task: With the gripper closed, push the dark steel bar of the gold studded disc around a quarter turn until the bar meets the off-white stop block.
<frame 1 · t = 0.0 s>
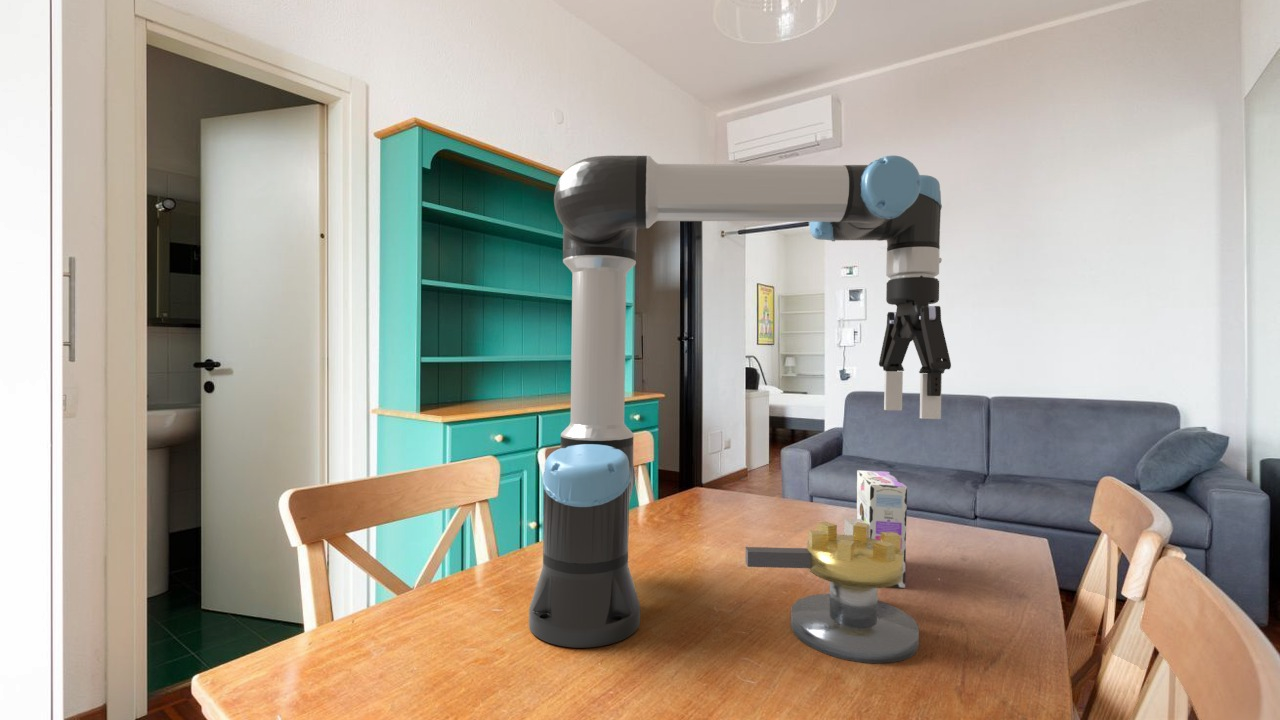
hand: (910, 414, 93), 28 cm above the table, tool pointing down, fingers open, 13 cm apart
nut base: (852, 632, 80), on the table
candy box: (878, 573, 102), on the table
gold studded disc: (822, 551, 80), point 11 cm above the table, hinge at 0.0°
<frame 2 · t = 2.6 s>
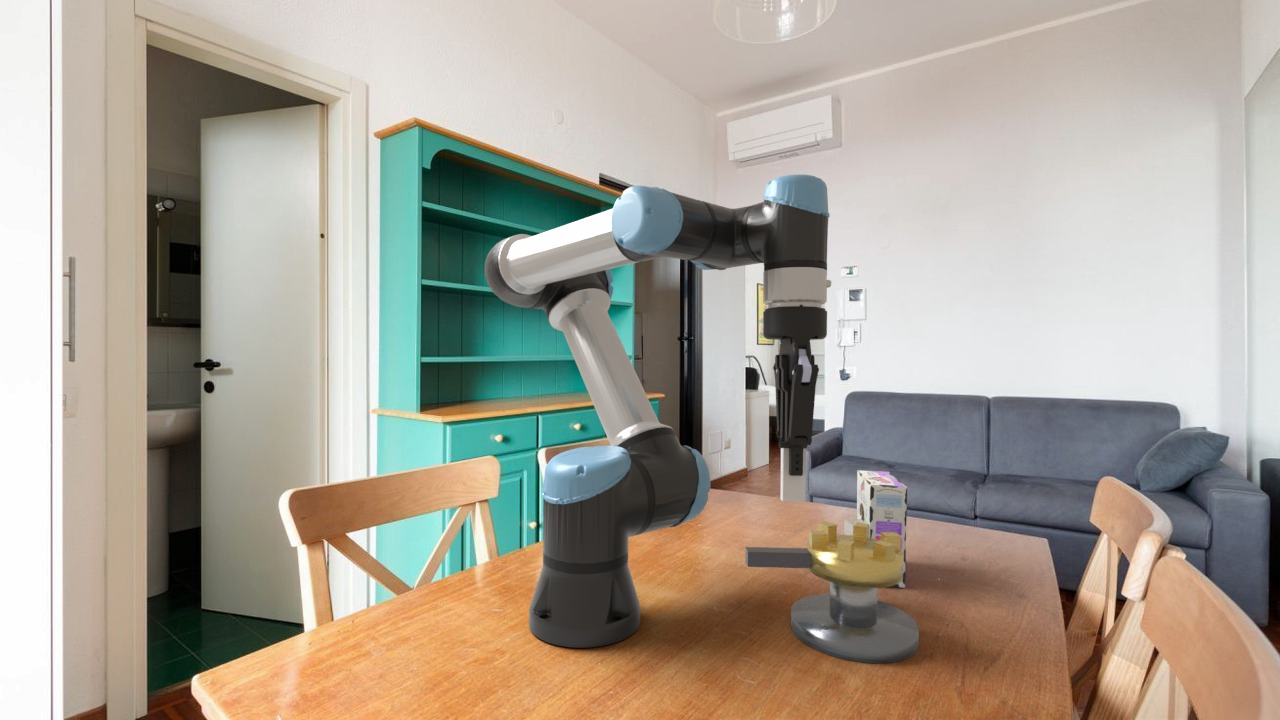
hand: (792, 500, 73), 19 cm above the table, tool pointing down, fingers closed
nothing on the table moved.
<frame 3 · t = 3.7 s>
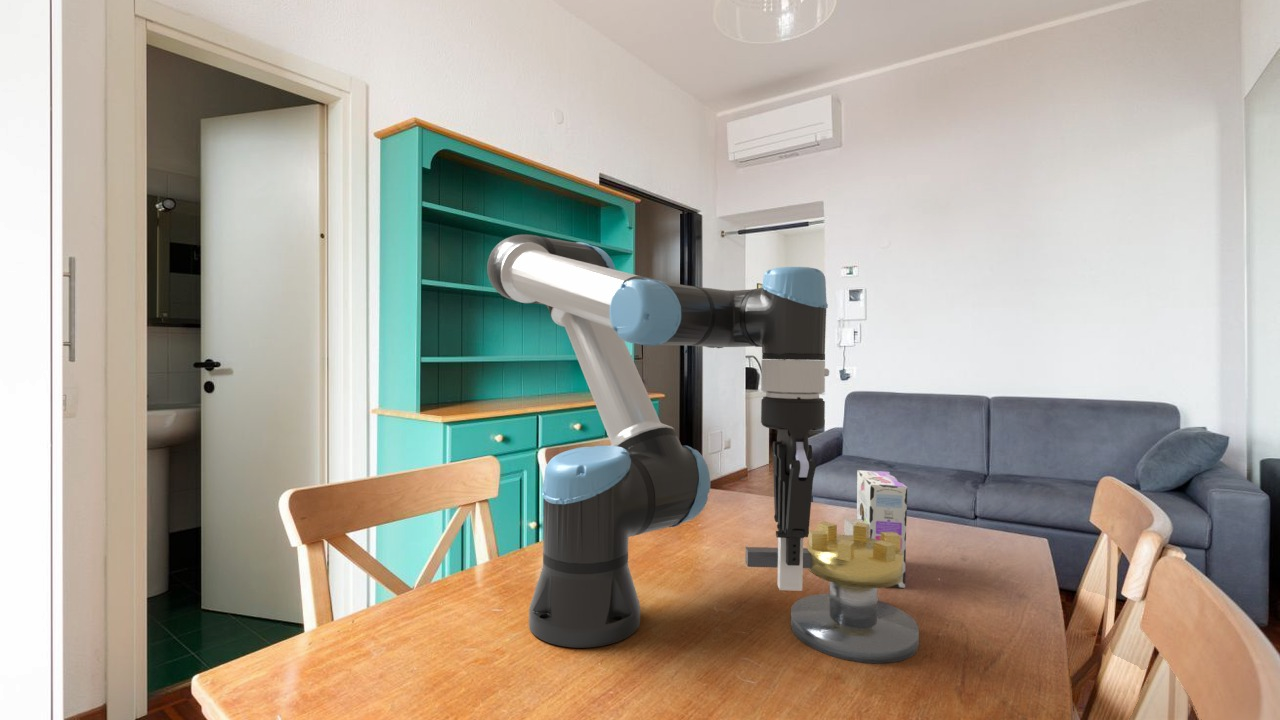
hand: (789, 587, 73), 8 cm above the table, tool pointing down, fingers closed
nothing on the table moved.
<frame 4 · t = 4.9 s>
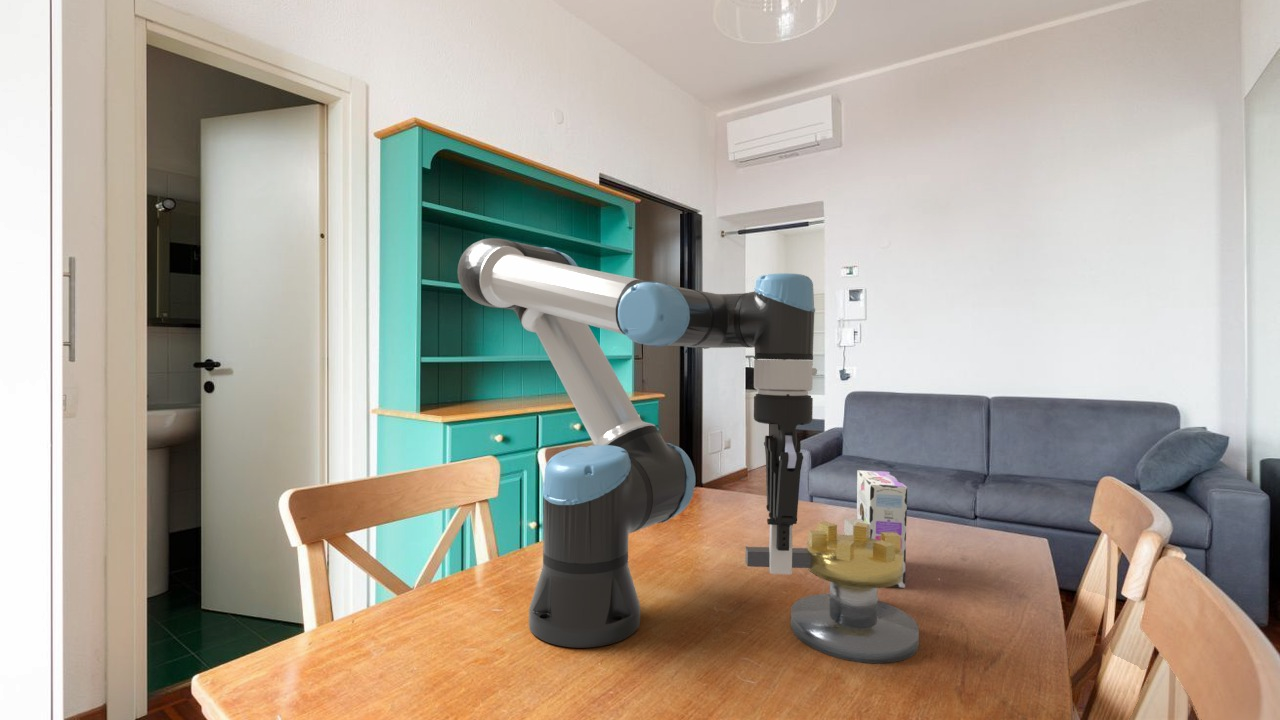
hand: (780, 572, 78), 8 cm above the table, tool pointing down, fingers closed
gold studded disc: (822, 551, 80), point 11 cm above the table, hinge at 0.5°, touching gripper
everything else where it was.
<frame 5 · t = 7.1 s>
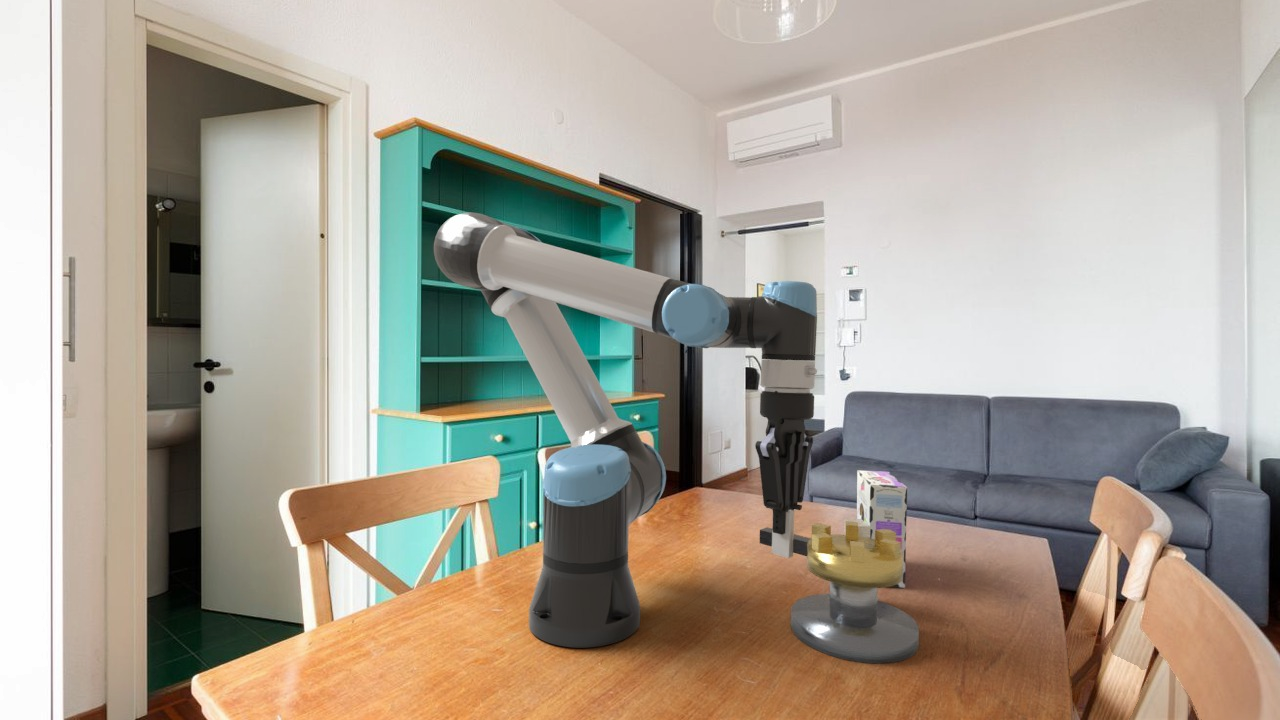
hand: (782, 554, 85), 8 cm above the table, tool pointing down, fingers closed
gold studded disc: (825, 544, 82), point 11 cm above the table, hinge at 44.2°, touching gripper
everything else where it was.
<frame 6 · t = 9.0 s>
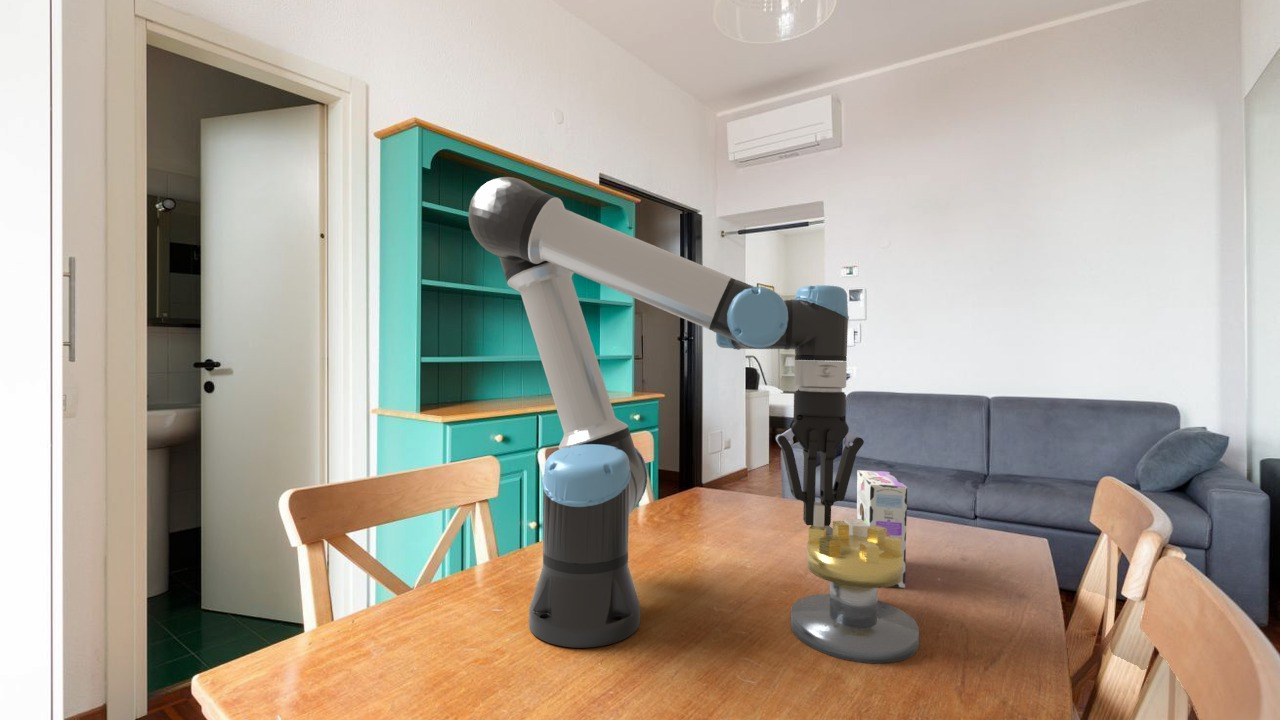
hand: (816, 546, 89), 8 cm above the table, tool pointing down, fingers closed
gold studded disc: (842, 542, 84), point 11 cm above the table, hinge at 86.5°, touching gripper
everything else where it was.
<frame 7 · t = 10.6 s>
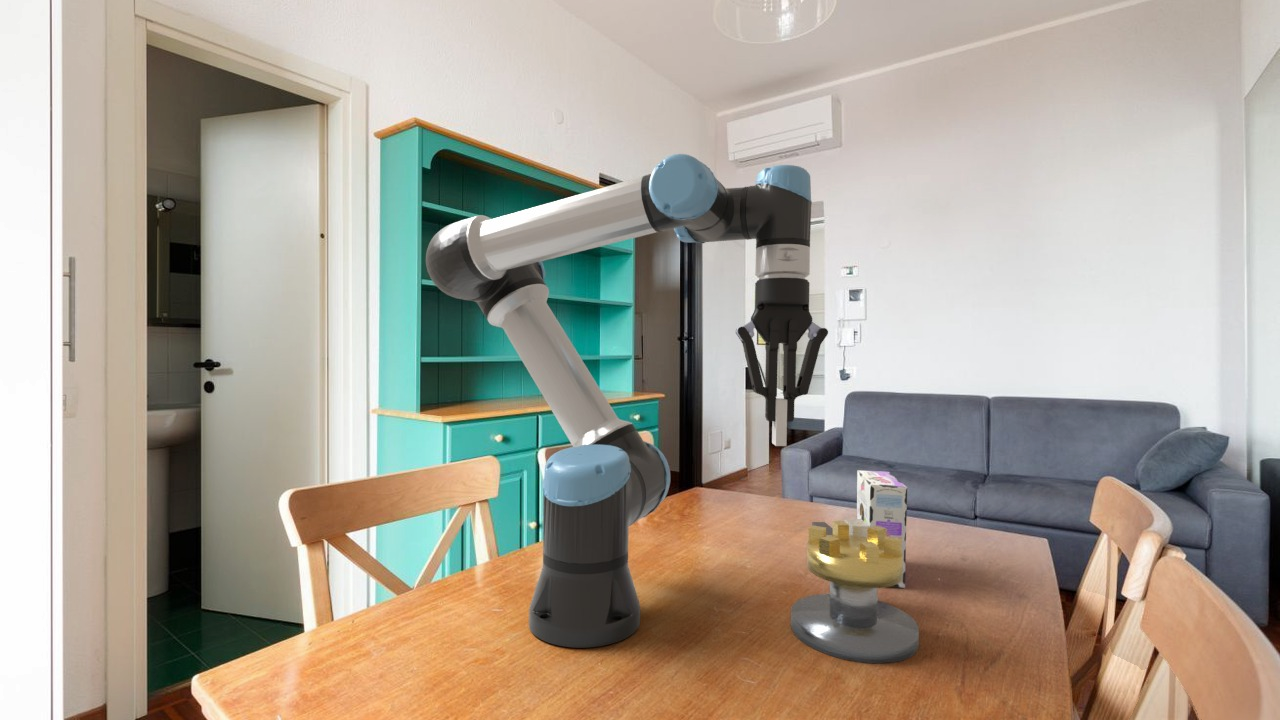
hand: (779, 444, 85), 24 cm above the table, tool pointing down, fingers closed
gold studded disc: (842, 542, 84), point 11 cm above the table, hinge at 86.6°
everything else where it was.
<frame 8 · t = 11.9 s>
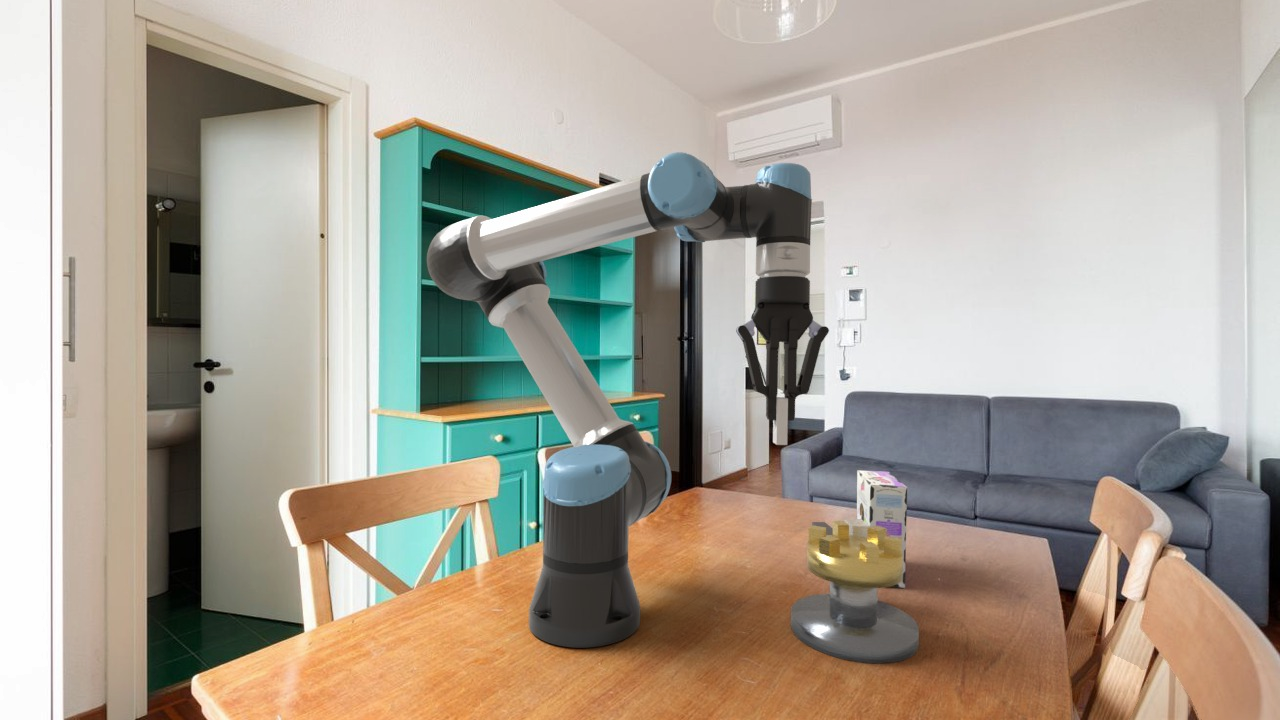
hand: (779, 443, 85), 24 cm above the table, tool pointing down, fingers closed
nothing on the table moved.
at the end: gold studded disc at +87° (first picture: +0°) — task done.
